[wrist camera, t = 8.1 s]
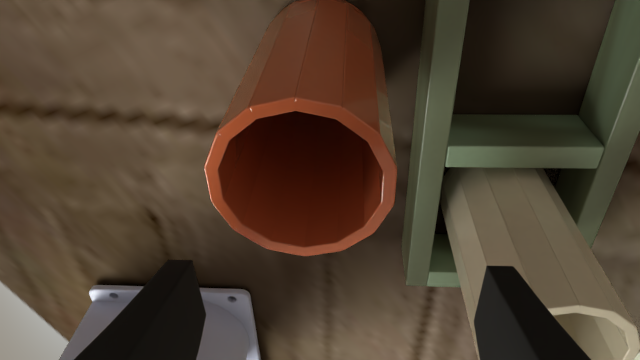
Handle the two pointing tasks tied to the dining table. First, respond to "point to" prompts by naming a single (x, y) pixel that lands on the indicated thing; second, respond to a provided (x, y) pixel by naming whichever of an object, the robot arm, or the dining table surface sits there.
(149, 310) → the robot arm
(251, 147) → the terracotta tumbler
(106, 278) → the dining table surface
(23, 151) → the dining table surface
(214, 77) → the dining table surface
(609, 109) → the frame
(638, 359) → the coffee can
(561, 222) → the cream tumbler
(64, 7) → the dining table surface
